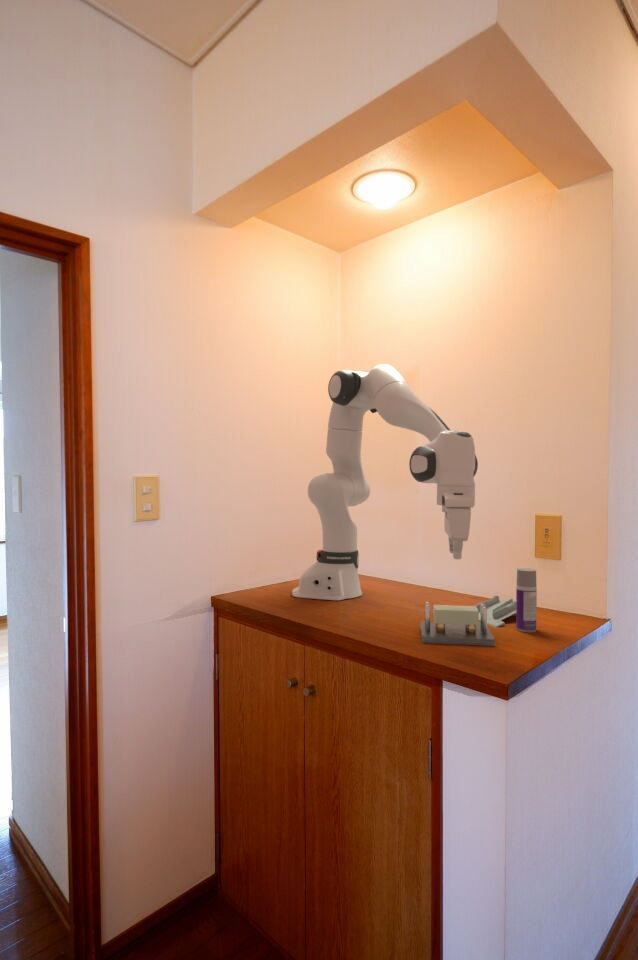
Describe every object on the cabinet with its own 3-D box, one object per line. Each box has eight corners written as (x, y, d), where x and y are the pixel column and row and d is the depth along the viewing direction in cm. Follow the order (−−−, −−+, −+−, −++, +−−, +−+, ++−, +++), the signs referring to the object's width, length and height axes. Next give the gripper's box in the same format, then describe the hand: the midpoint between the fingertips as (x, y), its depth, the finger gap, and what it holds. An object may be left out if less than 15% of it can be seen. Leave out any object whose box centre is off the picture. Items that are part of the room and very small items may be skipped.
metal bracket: (492, 589, 155) (532, 601, 141) (497, 608, 155) (537, 621, 142) (453, 608, 149) (491, 622, 135) (458, 628, 150) (496, 643, 136)
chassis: (422, 642, 123) (422, 610, 123) (420, 627, 136) (420, 597, 136) (495, 646, 121) (495, 612, 121) (485, 629, 134) (485, 599, 134)
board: (434, 623, 127) (434, 609, 127) (433, 617, 132) (433, 604, 132) (478, 625, 125) (478, 611, 125) (475, 619, 130) (475, 606, 130)
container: (513, 627, 136) (513, 567, 136) (532, 627, 136) (532, 567, 136) (519, 632, 131) (520, 571, 131) (539, 632, 131) (539, 571, 131)
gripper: (439, 495, 139) (438, 549, 139) (445, 499, 119) (445, 562, 119) (464, 496, 138) (463, 550, 139) (475, 500, 118) (474, 563, 118)
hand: (455, 555), depth 129 cm, fingers open, 8 cm apart
